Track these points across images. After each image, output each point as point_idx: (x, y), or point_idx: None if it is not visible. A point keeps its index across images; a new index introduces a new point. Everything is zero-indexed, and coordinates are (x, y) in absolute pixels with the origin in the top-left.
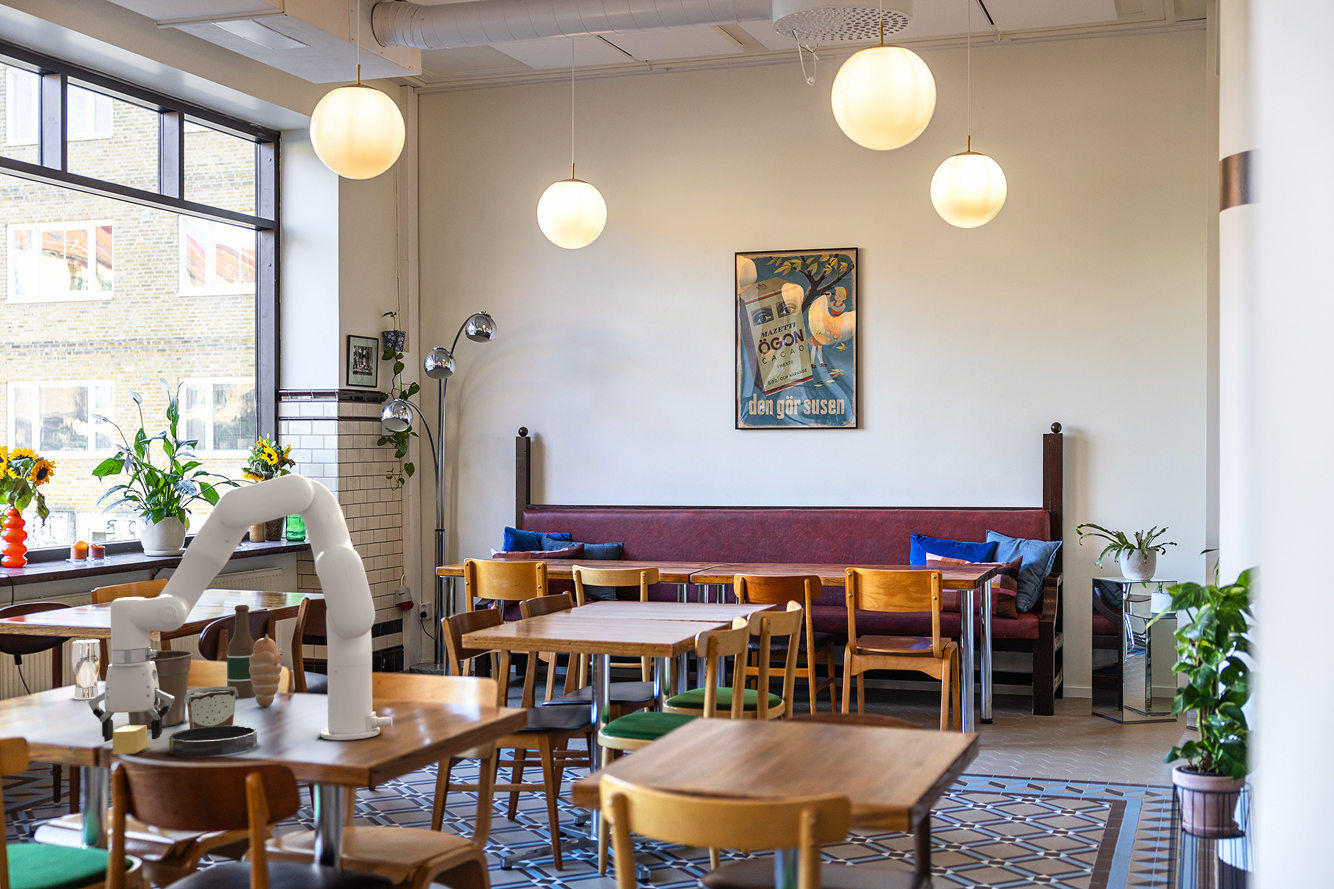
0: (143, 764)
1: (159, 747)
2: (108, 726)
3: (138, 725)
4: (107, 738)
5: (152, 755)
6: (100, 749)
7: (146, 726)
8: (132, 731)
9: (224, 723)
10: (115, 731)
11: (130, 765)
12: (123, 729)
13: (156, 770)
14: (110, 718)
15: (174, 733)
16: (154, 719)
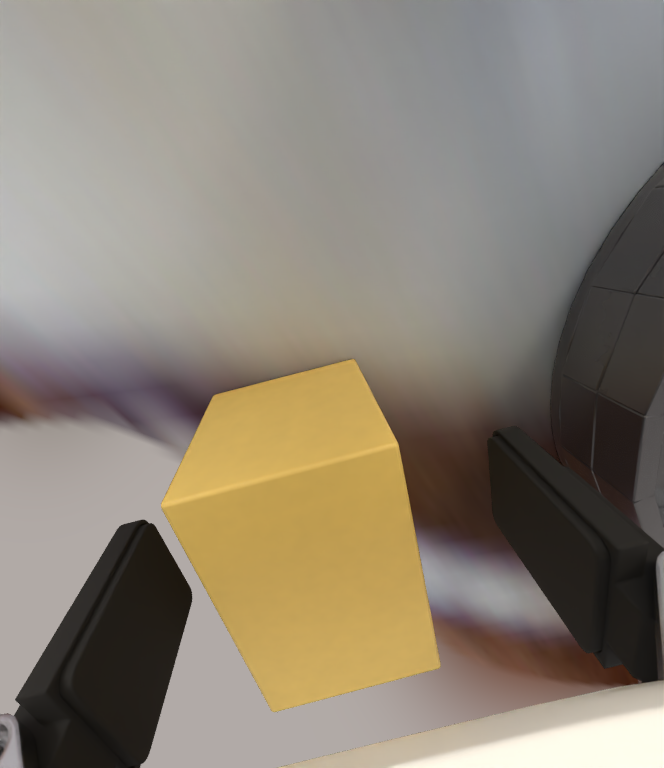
0: (520, 637)
1: (416, 300)
2: (149, 706)
3: (319, 486)
4: (184, 611)
5: (482, 504)
6: (24, 414)
7: (398, 450)
8: (421, 670)
9: None
10: (290, 707)
11: (475, 657)
12: (299, 646)
13: (605, 684)
14: (60, 754)
15: (654, 429)
16: (622, 645)
